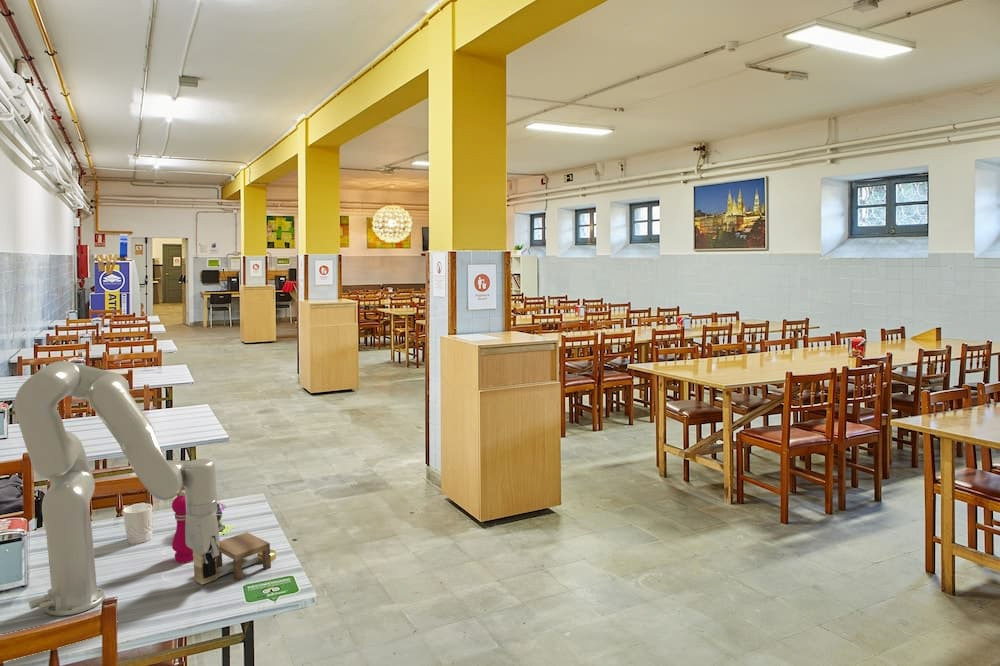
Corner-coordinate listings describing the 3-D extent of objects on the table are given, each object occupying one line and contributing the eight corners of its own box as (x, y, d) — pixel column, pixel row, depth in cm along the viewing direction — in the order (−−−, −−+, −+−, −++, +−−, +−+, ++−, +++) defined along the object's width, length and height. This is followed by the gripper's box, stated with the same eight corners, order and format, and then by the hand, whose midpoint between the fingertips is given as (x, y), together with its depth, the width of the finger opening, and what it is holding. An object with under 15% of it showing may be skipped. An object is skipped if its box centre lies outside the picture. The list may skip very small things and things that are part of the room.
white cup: (159, 537, 213) (157, 506, 212) (134, 547, 206) (132, 514, 205) (145, 532, 217) (142, 501, 216) (120, 541, 211) (117, 509, 209)
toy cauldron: (241, 530, 219) (239, 496, 217) (193, 545, 208) (191, 509, 207) (220, 517, 229) (218, 485, 228) (173, 531, 218) (171, 497, 217)
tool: (202, 584, 182) (200, 551, 181) (194, 580, 184) (192, 547, 183) (261, 562, 194) (259, 531, 193) (253, 558, 197) (251, 527, 196)
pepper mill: (190, 564, 194) (185, 495, 192) (167, 562, 196) (162, 494, 193) (206, 553, 201) (202, 486, 199) (183, 551, 203) (179, 485, 200)
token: (263, 565, 194) (262, 558, 194) (254, 559, 198) (253, 553, 198) (279, 559, 198) (279, 553, 198) (270, 554, 201) (270, 548, 201)
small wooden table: (237, 580, 185) (235, 555, 184) (214, 567, 192) (213, 543, 192) (270, 567, 192) (269, 543, 191) (247, 555, 200) (246, 532, 199)
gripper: (172, 503, 185) (176, 569, 187) (203, 519, 174) (207, 588, 176) (200, 496, 190) (203, 559, 192) (231, 510, 180) (235, 577, 182)
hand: (205, 572), depth 184 cm, fingers closed on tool, 4 cm apart
